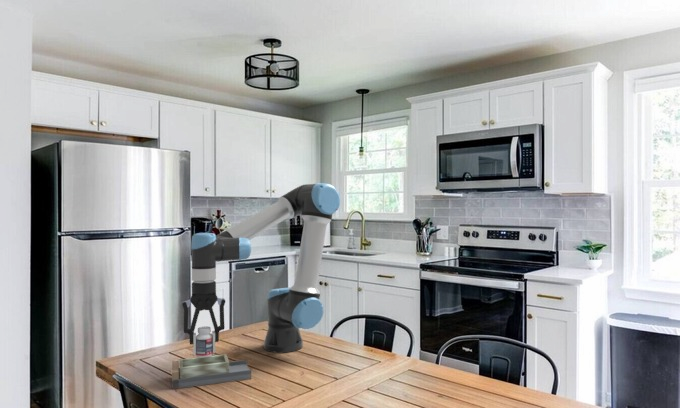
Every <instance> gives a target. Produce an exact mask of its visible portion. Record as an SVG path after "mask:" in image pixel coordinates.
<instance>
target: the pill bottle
mask: <svg viewBox="0 0 680 408" xmlns="http://www.w3.org/2000/svg"><path fill="white" fill-rule="evenodd" d="M213 354H214V353H213V336H212V330H211V326H200V327H198V328H197V334H196V355H195V356H196V358H197V357H200V358H205V357H210V356H213Z"/></svg>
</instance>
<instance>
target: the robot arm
mask: <svg viewBox="0 0 680 408" xmlns="http://www.w3.org/2000/svg"><path fill="white" fill-rule="evenodd" d="M340 205H341V197H340V194H339V192H338V189H336V187H335V186H333V185H332V184H330V183H327V182H326V183H325V182H324V183H323V182H318V183H307V184H302V185H299V186H297V187H295V188H293V189H292V190H290V191H288V192H287V193H285V194H283V195H281V196H280V197H278V199H277V201H276V202H274V203H273V204H271V205H268V206H267V207H265V208H263V209H261V210H260V211H258V212H256V213H254V214H253V215H251V216H249V217H247V218H246V219H244V220H242V221H240V222H239V223H237V224H235V225H233V226H231V227H229V228H228V229H226V230H224V231H222V232H220V233H218V234H217V235H216V234H215V233H214V232H213V233H212V232H205V233H203V232H199V233H194V234H192V236H191V243H190V244H191V246H190V250H191V281H192V282H191V297H190V298H189V299H187V300H183V301H182V304H181V306H182V309H183V333H184V334H187V335H188V336H189V345H192V346H193V347H192V352H193V356H196V336H197V333H196V332H195V329H196V326H197V322H198V320H199V319H198V317H199V315H200V312H202V311H208V312H209V315H210V318H211V319H210V320H211V322H212V326H213V329H214V330H211V334H212V336H213V354H216V343H219V341H220V332H221V331H224V330H225V307H224V306H225V304H226V299H225V298H223V297H222V298H220V297H218V295H217V282H216V281H215V280H216V278H217V270H216V269H217V264H216V263H217V262H229V261H242V260H247V259H248V258H250V256H251V254H252V244H251V240H252V239H254V238H255V237H257V236H260V235H261V234H262V233H264V232H266V231H268V230H270V229H271V228H273V227H274V226H276V225H278V224H280V223H281V222H284V221H286V219H289V220H291V219H293V218H296V217H297V216H301V218H302V219H303V228H302V232H301V233H302V234H301V241H300V246H299V247H300V248H299V252H298V253H299V254H298V259H297V266H296V272H295V278H294V283H293V285H291V286H290V287H281V288H274V289H273V288H272V289H270V290H269V291H268V294H267V319H268V320H267V321H268V323H267V325H268V326H267V331H266V335H265V337H264V341H263V348H264V350H265V351H267V352H271V353H290V352H294V351H295V352H296V351H299V350H301V349H302V348H303V346H304V345H303V337H302V334H301V332H300V329H302V330H310V329H313V328H315V327H316V326H317V325H318V324H319V323H321V321H322V318H323V315H324V311H325V309H324V304H322V301H321V300H320V298H321V291H320V290H319V289H318V285H319V284H318V283H319V277H320V271H321V265H322V258H323V253H324V252H323V250H324V245H325V237H326V233H327V232H326V231H327V226H328V224H329V223H331V222H332V219H333V214H335V213H336V212H337V211H338V210H339V208H340ZM216 303H217V304H218V305H219V307H218V308H219V325H218V323H217V319H216V316H215V312H214V309H213V307H214V305H215V304H216ZM190 304H191V305H193V307H194V313H193V317H192V320H191V324H190V327H189V326H188V325H189V308H190V306H191V305H190Z"/></svg>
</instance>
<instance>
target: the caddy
mask: <svg viewBox="0 0 680 408" xmlns="http://www.w3.org/2000/svg"><path fill="white" fill-rule="evenodd" d="M229 362H230V361H229V358H228V354H226V353H224V354H216V355H211V356H210V357H205V358H200V357H197V356H196V357H189V358H188V357H187V358H183V359H179V368H180V379H181V378H189V377H197V376H205V375H213V374H221V373H229Z"/></svg>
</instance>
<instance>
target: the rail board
mask: <svg viewBox="0 0 680 408" xmlns="http://www.w3.org/2000/svg"><path fill="white" fill-rule="evenodd" d="M247 363H248V362H247V359H242V360H234V361H233V360H232V361H229V373H221V374H213V375H205V376H197V377H189V378H181V379H180V360H176V361H175V360H174V361H173V360H172V362H171V389H172V390H174V389H175V390H176V389H182V388H192V387H197V386H198V387H200V386H205V385H212V384H214V385H215V384H219V383H228V382H236V381H244V380H251V379H252V370H251V369H250V368H249V366H248V364H247Z"/></svg>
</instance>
